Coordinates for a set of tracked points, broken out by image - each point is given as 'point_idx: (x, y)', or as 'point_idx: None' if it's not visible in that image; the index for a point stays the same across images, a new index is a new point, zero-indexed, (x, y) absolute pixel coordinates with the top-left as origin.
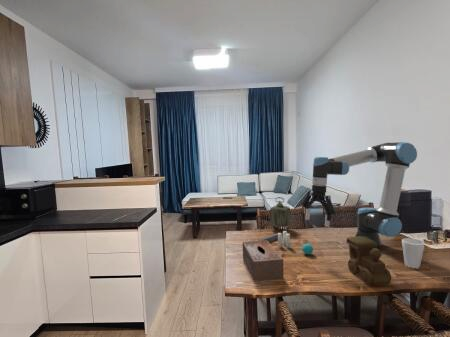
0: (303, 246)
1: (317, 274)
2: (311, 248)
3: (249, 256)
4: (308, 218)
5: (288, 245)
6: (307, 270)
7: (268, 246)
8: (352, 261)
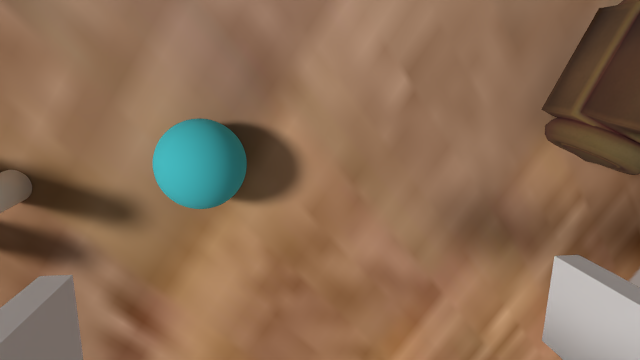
0: (179, 202)
1: (442, 310)
2: (240, 165)
3: None
4: (63, 329)
5: (16, 201)
6: (380, 322)
7: None
8: (630, 169)
